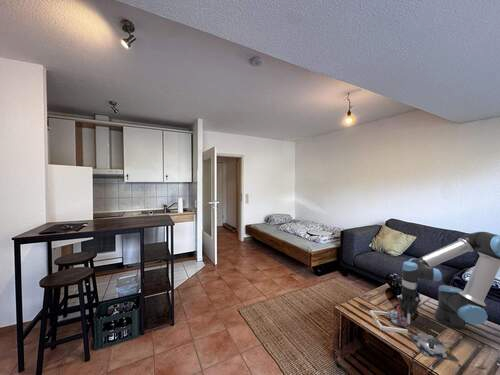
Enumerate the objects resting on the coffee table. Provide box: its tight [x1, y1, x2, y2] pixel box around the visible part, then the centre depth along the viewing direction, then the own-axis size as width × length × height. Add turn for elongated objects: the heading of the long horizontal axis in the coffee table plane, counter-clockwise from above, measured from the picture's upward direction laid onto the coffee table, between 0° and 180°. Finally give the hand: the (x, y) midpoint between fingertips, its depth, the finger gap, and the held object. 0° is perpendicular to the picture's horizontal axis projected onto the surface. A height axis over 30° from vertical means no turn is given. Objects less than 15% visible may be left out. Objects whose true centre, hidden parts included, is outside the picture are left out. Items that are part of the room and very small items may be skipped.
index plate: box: [406, 333, 460, 363], centre depth 113 cm, size 16×16×1 cm
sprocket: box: [413, 332, 451, 358], centre depth 113 cm, size 15×15×6 cm
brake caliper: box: [386, 305, 408, 327], centre depth 133 cm, size 11×11×12 cm
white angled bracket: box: [369, 309, 409, 335], centre depth 132 cm, size 15×17×4 cm
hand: (407, 322), depth 130 cm, fingers closed
